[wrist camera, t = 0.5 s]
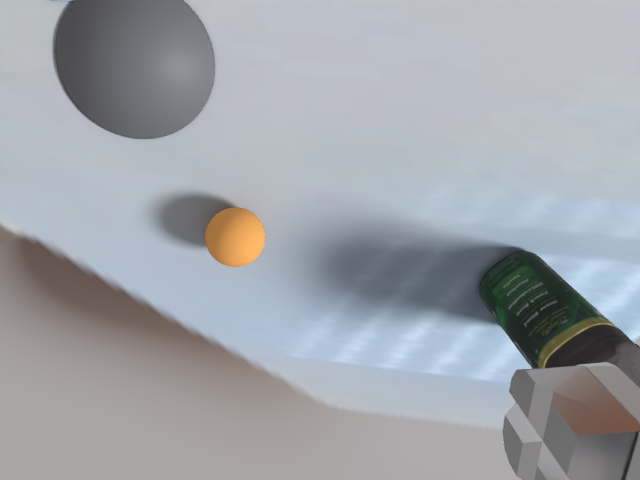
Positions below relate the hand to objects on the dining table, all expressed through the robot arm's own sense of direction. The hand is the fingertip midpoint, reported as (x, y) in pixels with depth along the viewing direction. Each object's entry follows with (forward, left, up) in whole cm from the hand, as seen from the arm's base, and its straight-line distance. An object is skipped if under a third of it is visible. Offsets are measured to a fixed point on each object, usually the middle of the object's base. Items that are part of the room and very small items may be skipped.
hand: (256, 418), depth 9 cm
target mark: (-2, -9, -45) cm, 46 cm away
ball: (+14, -3, -42) cm, 44 cm away
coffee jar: (+26, +26, -45) cm, 58 cm away
